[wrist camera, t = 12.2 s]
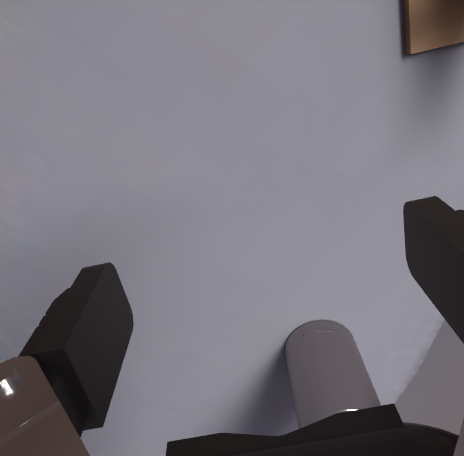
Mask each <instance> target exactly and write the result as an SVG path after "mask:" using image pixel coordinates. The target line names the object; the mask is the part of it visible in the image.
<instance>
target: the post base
mask: <svg viewBox="0 0 464 456" xmlns="http://www.w3.org/2000/svg"><path fill="white" fill-rule="evenodd" d="M404 19H405V41H406V54H414V53H418V52H423V51H427V50H431V49H436V48H440V47H444V46H448V45H453V44H457V43H461V42H464V0H404Z"/></svg>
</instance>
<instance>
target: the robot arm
mask: <svg viewBox="0 0 464 456" xmlns="http://www.w3.org/2000/svg"><path fill="white" fill-rule="evenodd" d="M403 215H404V233H405V250H406V260H407V264H408V267H409V270H410V272H411V274H412V276H413V278H414V279H415V280H416V282H417V283H418V284H419V286H420V287H421V288H422V290H423V291H424V292H425V294H426V295H427V296H428V297H429V299H430V300H431V301H432V303H433V304H434V305H435V307H436V308H437V309H438V311H439V312H440V313H441V314H442V316H443V317H444V318H445V320H446V321H447V322H448V324H449V325H450V326H451V328H452V329H453V330H454V331H455V333H456V334H457V335H458V337H459V338H460V339H461V341H462V342H463V343H464V210H456V211H455V210H454V209H452V208H451V207H450V206H448V205H447V204H446V203H445V202H443V201H442V200H441V199H440V198H438V197H437V196H433V197H428V198H423V199H418V200H414V201H409V202H406V203H405V204H404V209H403ZM132 331H133V314H132V310H131V307H130V304H129V302H128V299H127V297H126V294H125V292H124V289H123V286H122V284H121V281H120V279H119V276H118V274H117V271H116V269H115V267H114V266H113V264H112V263H104V264H100V265H95V266H90V267H85V268H83V269H82V270H81V271H80V273H79V275H78V276H77V278H76V280H75V281H74V283H73V285H72V286H71V288H68V289H66V290H65V291H64V292H63V293H62V294H61V295H60V296H58V297H57V298H56V299H55V300H54V301H53V302H52V304H51V306H50V307H49V309H48V310H47V312H46V316H44V317H43V318H42V320H41V321H40V323H39V326H38V327H37V328H36V329H35V331H34V332H33V334H32V336H31V337H30V339H29V340H28V342H27V343H26V345H25V347H24V348H23V350H22V351H21V353H20V355H19V356H18V357H15V358H12V359H9V360H6V361H4V362H2V363H0V456H90V455H89V453H88V451H87V450H86V448H85V446H84V444H83V442H82V441H81V439H80V437H81V434H82V431H83V430H89V429H94V428H100V427H103V425H104V422H105V418H106V415H107V412H108V409H109V405H110V402H111V399H112V396H113V392H114V389H115V386H116V383H117V379H118V376H119V373H120V370H121V366H122V363H123V360H124V357H125V353H126V350H127V347H128V344H129V340H130V337H131V334H132ZM285 356H286V362H287V367H288V373H289V379H290V384H291V390H292V395H293V401H294V406H295V412H296V417H297V423H298V428H299V429H298V430H295V431H293V432H290V433H288V434H285V435H282V436H262V435H246V434H231V433H218V434H212V435H206V436H200V437H194V438H188V439H182V440H176V441H170V442H167V450H166V456H464V420H463V423H462V427H461V430H460V434H459V435H456V434H453V433H451V432H448V431H445V430H442V429H438V428H435V427H431V426H427V425H421V424H415V423H404V422H402V420H401V418H400V416H399V413H398V411H397V409H396V407H395V405H394V404H389V405H383V406H381V403H380V401H379V399H378V396H377V394H376V391H375V389H374V387H373V384H372V382H371V379H370V377H369V374H368V372H367V370H366V367H365V365H364V362H363V360H362V357H361V355H360V353H359V350H358V348H357V345H356V343H355V341H354V338H353V336H352V334H351V333H350V331H349V330H348V329H347V328H346V327H344V326H343V325H341V324H339V323H337V322H333V321H327V320H319V321H313V322H309V323H306V324H304V325H302V326H300V327H299V328H297V329H296V330H295V331H294V332H293V333H292V334H291V335H290V336H289V338H288V340H287V342H286V345H285Z"/></svg>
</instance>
